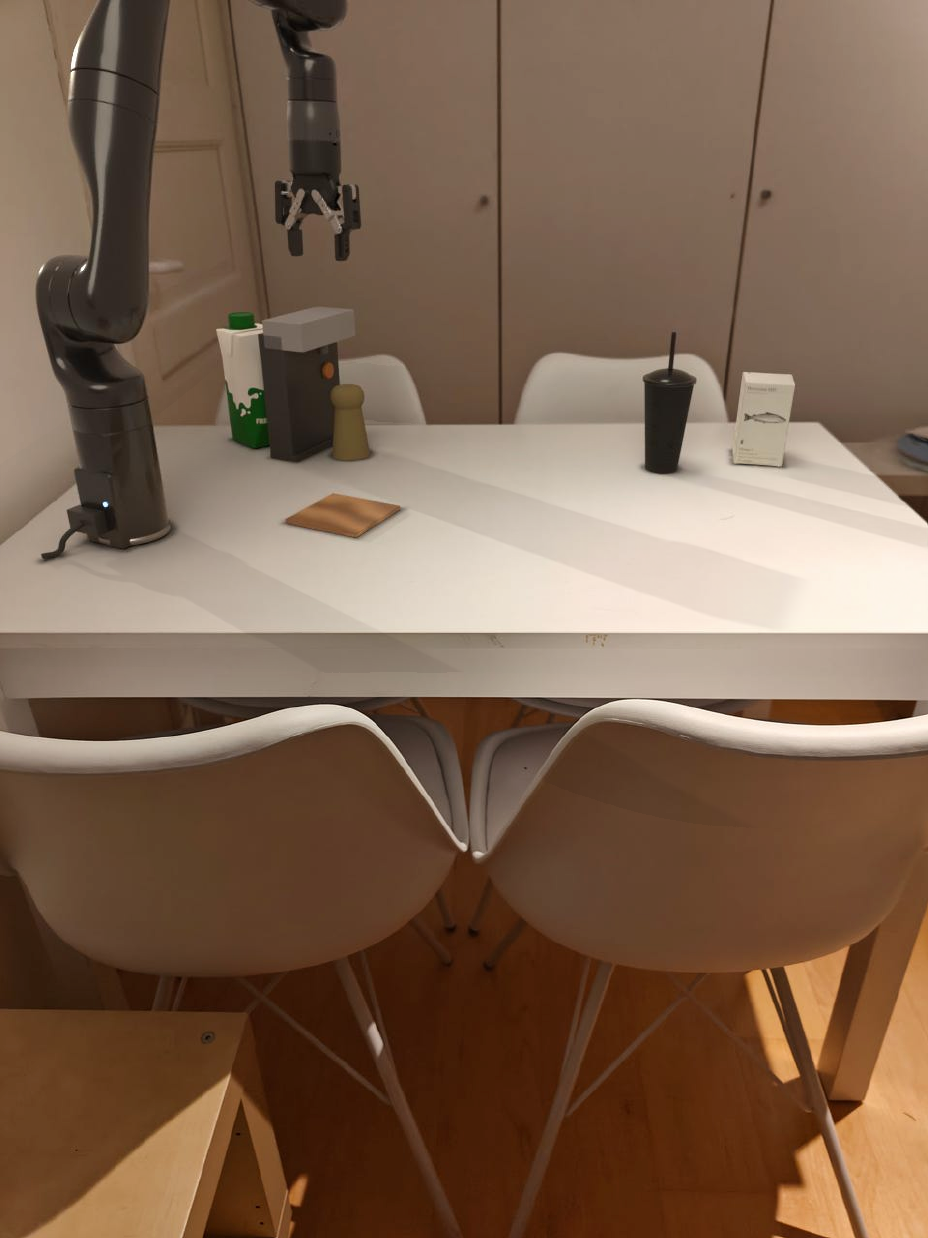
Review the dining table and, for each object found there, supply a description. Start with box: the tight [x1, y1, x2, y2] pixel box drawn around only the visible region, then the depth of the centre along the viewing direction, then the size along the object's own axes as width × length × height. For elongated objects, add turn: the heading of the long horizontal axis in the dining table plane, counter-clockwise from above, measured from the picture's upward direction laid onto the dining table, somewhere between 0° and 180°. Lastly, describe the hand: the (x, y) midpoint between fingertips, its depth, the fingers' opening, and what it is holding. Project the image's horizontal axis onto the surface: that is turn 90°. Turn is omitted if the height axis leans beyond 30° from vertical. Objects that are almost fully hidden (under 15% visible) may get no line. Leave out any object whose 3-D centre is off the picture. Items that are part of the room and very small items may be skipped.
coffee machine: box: [258, 306, 357, 463], centre depth 145 cm, size 14×8×21 cm, turn 153°
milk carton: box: [215, 311, 270, 449], centre depth 150 cm, size 9×9×20 cm
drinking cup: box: [642, 331, 698, 474], centre depth 136 cm, size 8×8×20 cm
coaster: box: [284, 492, 401, 538], centre depth 123 cm, size 11×11×1 cm
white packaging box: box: [731, 371, 796, 467], centre depth 141 cm, size 7×7×13 cm
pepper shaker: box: [330, 383, 371, 462], centre depth 145 cm, size 6×6×11 cm
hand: (319, 258), depth 140 cm, fingers open, 8 cm apart
